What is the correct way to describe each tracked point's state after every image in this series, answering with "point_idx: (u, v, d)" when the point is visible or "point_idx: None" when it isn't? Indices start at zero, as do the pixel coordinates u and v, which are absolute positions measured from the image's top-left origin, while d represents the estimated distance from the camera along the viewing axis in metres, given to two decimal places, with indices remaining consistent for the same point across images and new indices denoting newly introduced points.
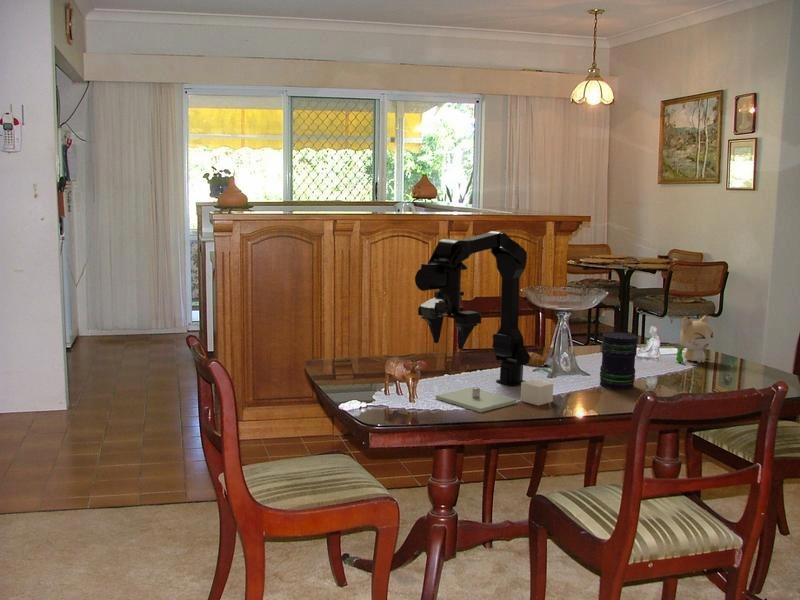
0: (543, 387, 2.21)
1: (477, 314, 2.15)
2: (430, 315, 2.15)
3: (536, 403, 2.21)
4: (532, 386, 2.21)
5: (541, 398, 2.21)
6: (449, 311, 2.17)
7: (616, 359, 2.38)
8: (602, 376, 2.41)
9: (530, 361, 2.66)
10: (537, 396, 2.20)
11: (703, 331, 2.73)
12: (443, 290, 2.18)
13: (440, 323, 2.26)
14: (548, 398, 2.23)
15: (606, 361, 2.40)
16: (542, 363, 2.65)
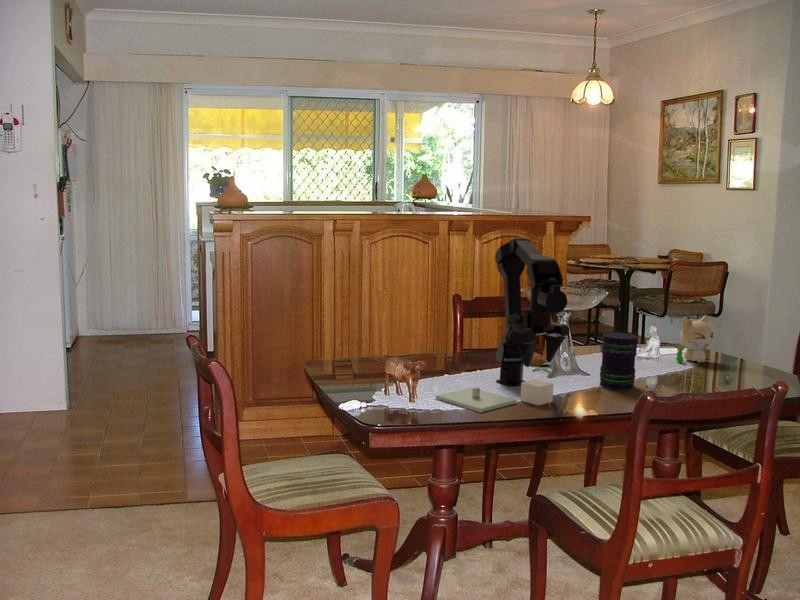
0: (543, 387, 2.21)
1: (521, 333, 2.14)
2: None
3: (536, 403, 2.21)
4: (532, 386, 2.21)
5: (541, 398, 2.21)
6: (525, 327, 2.21)
7: (616, 359, 2.38)
8: (602, 376, 2.41)
9: None
10: (537, 396, 2.20)
11: (703, 331, 2.73)
12: None
13: (555, 344, 2.24)
14: (548, 398, 2.23)
15: (606, 361, 2.40)
16: (542, 363, 2.65)
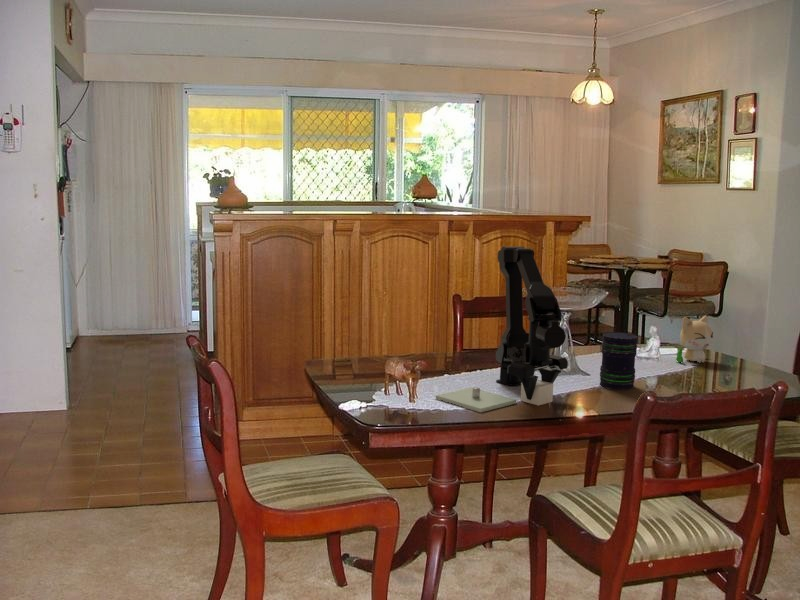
0: (543, 387, 2.21)
1: (520, 367, 2.16)
2: None
3: (536, 403, 2.21)
4: None
5: (541, 398, 2.21)
6: (523, 360, 2.23)
7: (616, 359, 2.38)
8: (602, 376, 2.41)
9: None
10: (537, 396, 2.20)
11: (703, 331, 2.73)
12: None
13: (550, 378, 2.25)
14: (548, 398, 2.23)
15: (606, 361, 2.40)
16: None
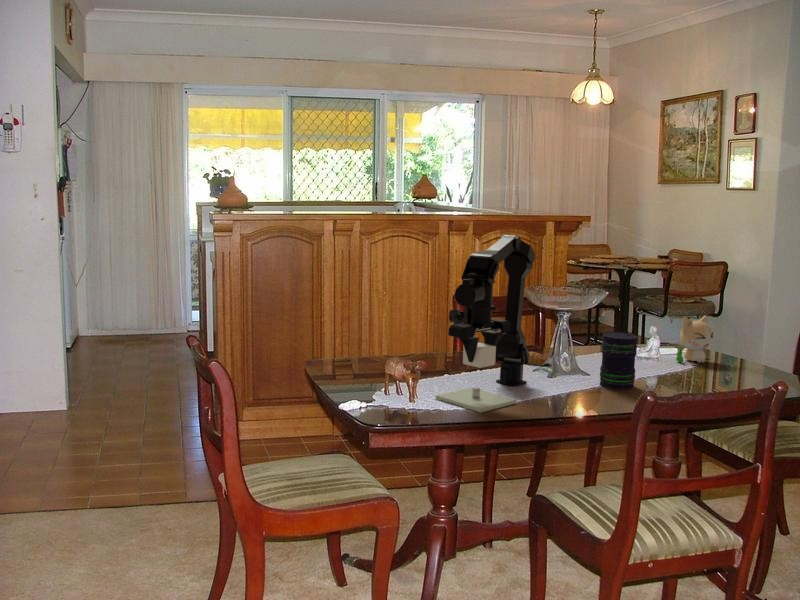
0: (485, 349, 2.18)
1: (460, 328, 2.13)
2: None
3: (477, 366, 2.18)
4: None
5: (483, 360, 2.18)
6: (465, 322, 2.20)
7: (616, 359, 2.38)
8: (602, 376, 2.41)
9: (532, 360, 2.67)
10: (479, 358, 2.17)
11: (703, 331, 2.73)
12: None
13: (493, 341, 2.22)
14: (490, 361, 2.20)
15: (606, 361, 2.40)
16: (544, 362, 2.66)
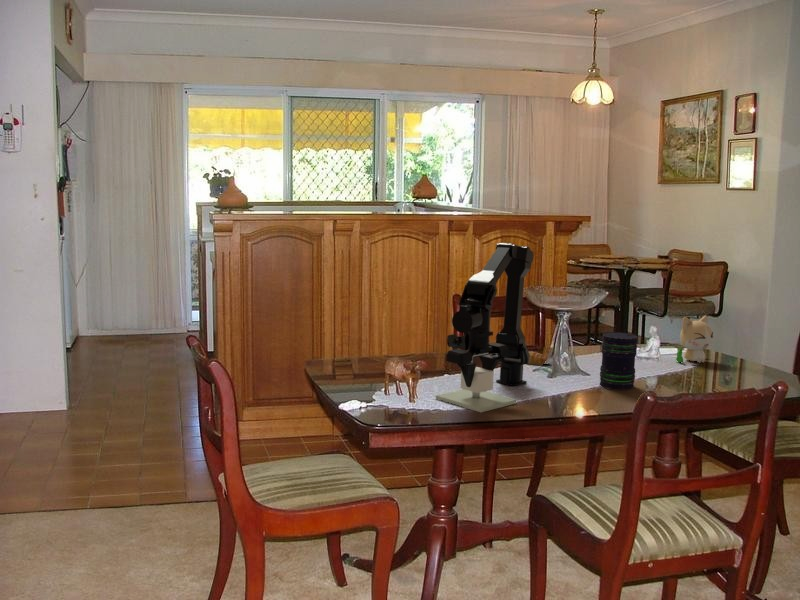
0: (482, 374, 2.19)
1: (457, 354, 2.14)
2: None
3: (475, 391, 2.19)
4: None
5: (481, 385, 2.19)
6: (463, 348, 2.21)
7: (616, 359, 2.38)
8: (602, 376, 2.41)
9: (532, 360, 2.67)
10: (476, 383, 2.18)
11: (703, 331, 2.73)
12: None
13: (490, 365, 2.23)
14: (488, 386, 2.21)
15: (606, 361, 2.40)
16: (544, 362, 2.67)
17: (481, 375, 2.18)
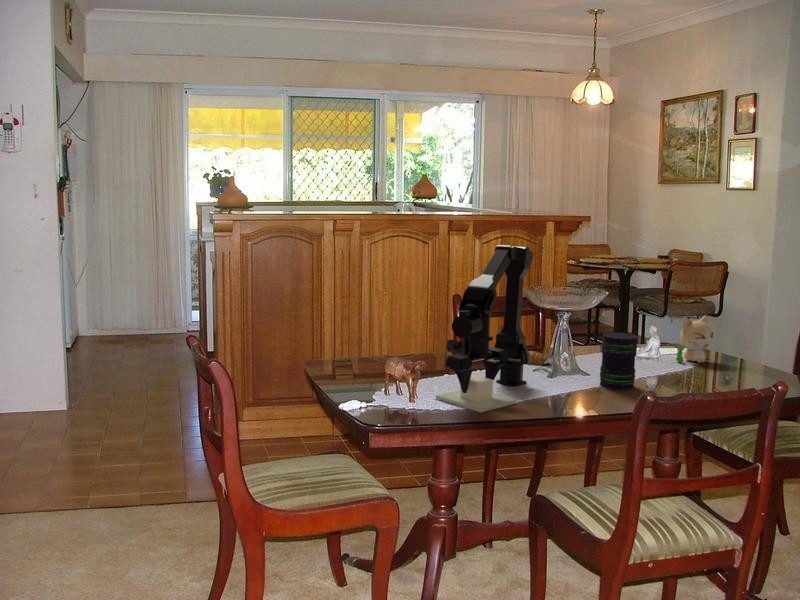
0: (482, 383, 2.19)
1: (457, 359, 2.14)
2: None
3: (474, 399, 2.19)
4: (471, 382, 2.19)
5: (480, 394, 2.19)
6: (462, 353, 2.21)
7: (616, 359, 2.38)
8: (602, 376, 2.41)
9: (532, 360, 2.68)
10: (476, 392, 2.19)
11: (703, 331, 2.73)
12: None
13: (494, 370, 2.24)
14: (487, 394, 2.21)
15: (606, 361, 2.40)
16: (544, 361, 2.67)
17: (481, 384, 2.19)
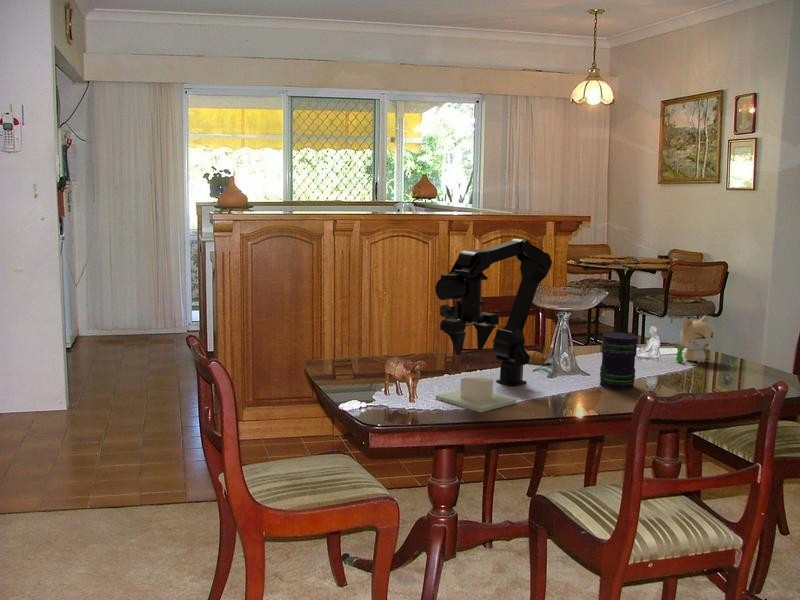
0: (482, 383, 2.19)
1: (451, 323, 2.23)
2: None
3: (474, 399, 2.19)
4: (471, 382, 2.19)
5: (480, 394, 2.19)
6: (455, 317, 2.30)
7: (616, 359, 2.38)
8: (602, 376, 2.41)
9: (533, 359, 2.68)
10: (476, 392, 2.19)
11: (703, 331, 2.73)
12: None
13: (485, 333, 2.33)
14: (487, 394, 2.21)
15: (606, 361, 2.40)
16: None
17: (481, 384, 2.19)
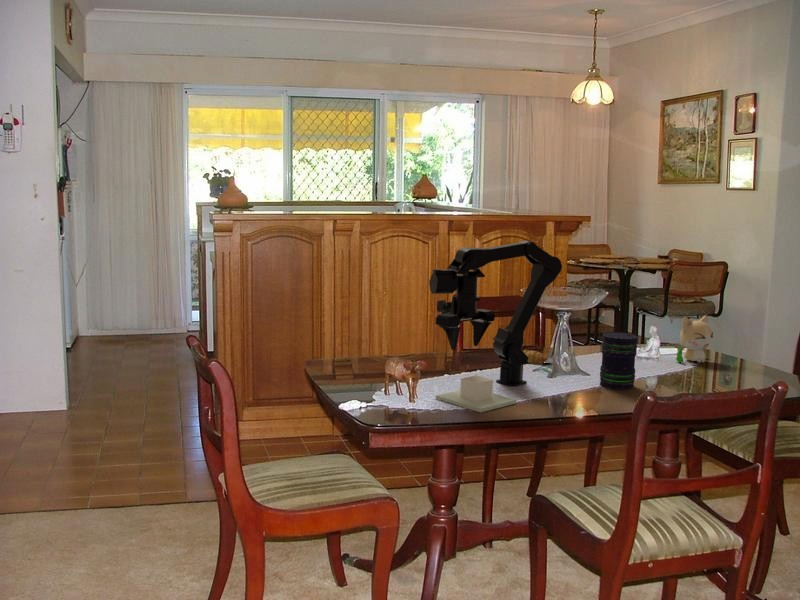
0: (482, 383, 2.19)
1: (446, 317, 2.28)
2: None
3: (474, 399, 2.19)
4: (471, 382, 2.19)
5: (480, 394, 2.19)
6: (451, 312, 2.35)
7: (616, 359, 2.38)
8: (602, 376, 2.41)
9: (533, 359, 2.69)
10: (476, 392, 2.19)
11: (703, 331, 2.73)
12: None
13: (481, 329, 2.38)
14: (487, 394, 2.21)
15: (606, 361, 2.40)
16: None
17: (481, 384, 2.19)
